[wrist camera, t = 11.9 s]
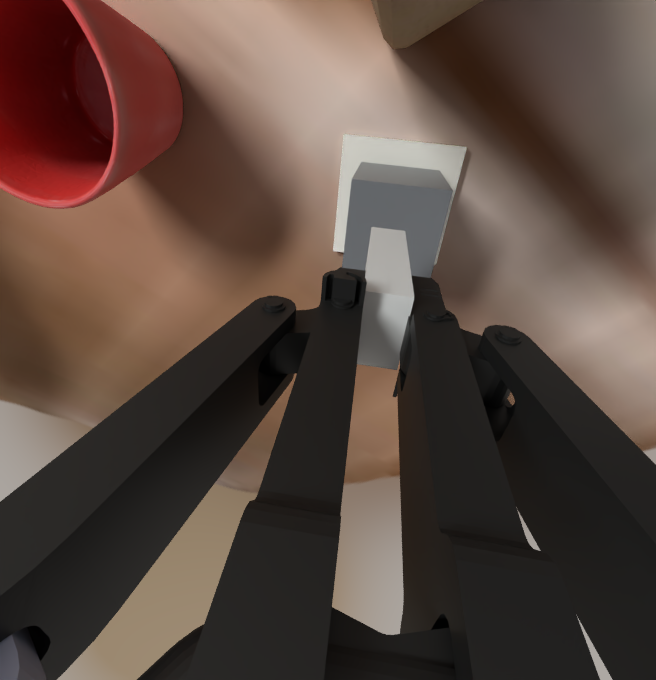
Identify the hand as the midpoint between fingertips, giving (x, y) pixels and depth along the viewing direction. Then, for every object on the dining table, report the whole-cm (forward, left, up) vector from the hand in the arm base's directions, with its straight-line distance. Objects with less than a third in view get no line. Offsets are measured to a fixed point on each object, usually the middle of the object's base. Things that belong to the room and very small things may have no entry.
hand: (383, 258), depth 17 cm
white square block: (0, 0, -12) cm, 12 cm away
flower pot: (-19, +5, -12) cm, 23 cm away
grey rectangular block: (0, 0, -11) cm, 11 cm away
